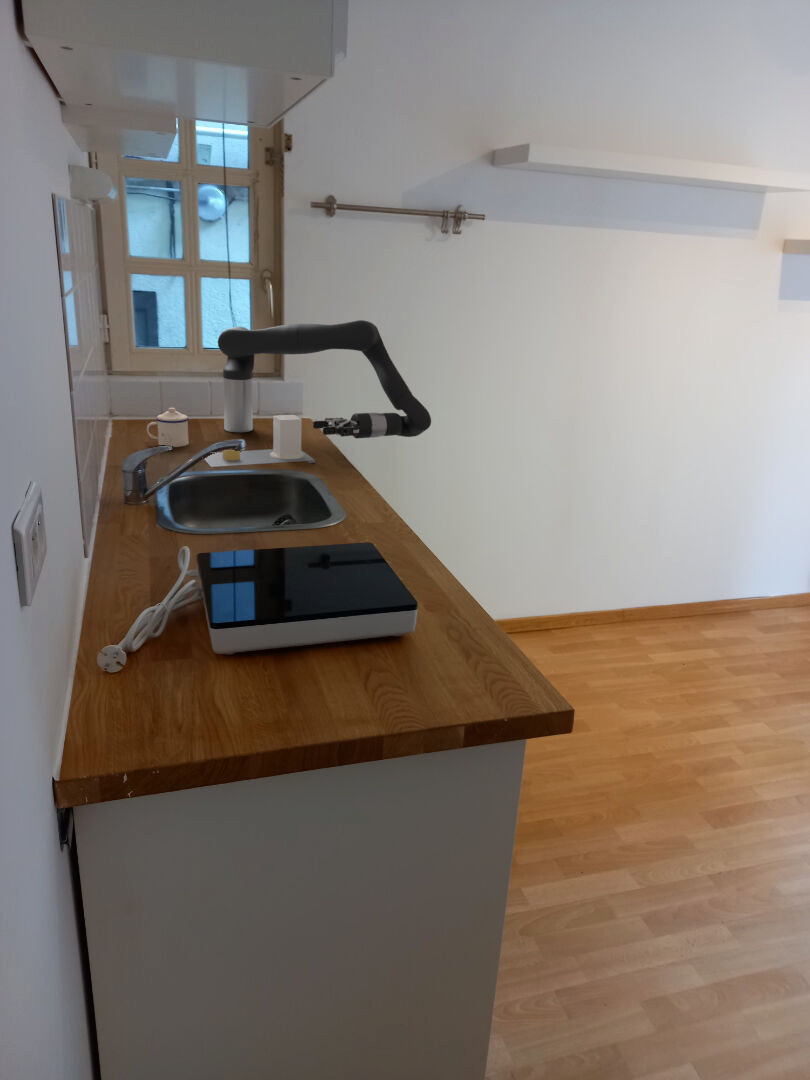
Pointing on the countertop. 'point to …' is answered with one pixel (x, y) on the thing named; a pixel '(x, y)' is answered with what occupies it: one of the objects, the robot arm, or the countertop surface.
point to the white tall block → (287, 436)
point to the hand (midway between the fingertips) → (318, 427)
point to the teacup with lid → (171, 428)
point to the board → (254, 458)
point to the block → (231, 455)
